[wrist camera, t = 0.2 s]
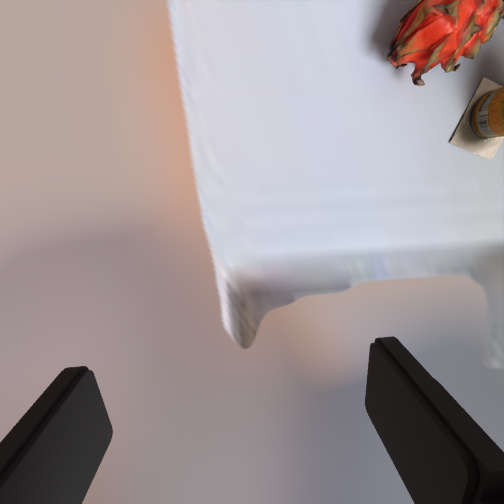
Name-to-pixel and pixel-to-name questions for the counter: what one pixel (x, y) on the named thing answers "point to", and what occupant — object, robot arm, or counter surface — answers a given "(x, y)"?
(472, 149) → the condiment
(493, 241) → the counter surface
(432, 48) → the dragon fruit
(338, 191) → the counter surface
